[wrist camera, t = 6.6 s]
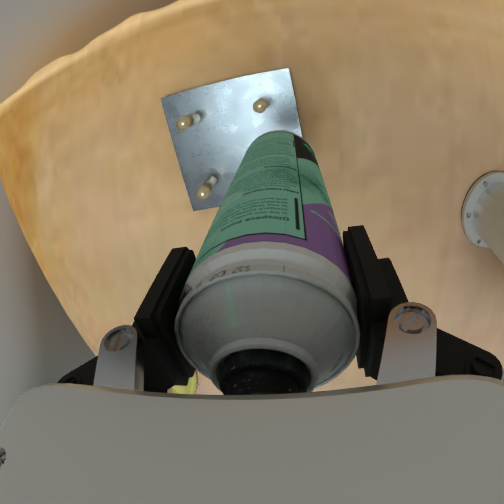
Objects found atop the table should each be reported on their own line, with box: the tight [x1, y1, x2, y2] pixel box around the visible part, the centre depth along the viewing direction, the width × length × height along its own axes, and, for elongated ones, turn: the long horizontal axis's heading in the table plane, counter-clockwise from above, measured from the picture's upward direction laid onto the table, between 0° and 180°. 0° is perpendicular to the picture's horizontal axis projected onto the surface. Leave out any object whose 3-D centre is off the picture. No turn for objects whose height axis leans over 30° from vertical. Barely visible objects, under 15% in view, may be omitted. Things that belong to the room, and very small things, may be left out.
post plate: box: [161, 68, 302, 211], centre depth 35 cm, size 16×16×6 cm
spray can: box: [174, 130, 360, 395], centre depth 15 cm, size 6×6×20 cm
